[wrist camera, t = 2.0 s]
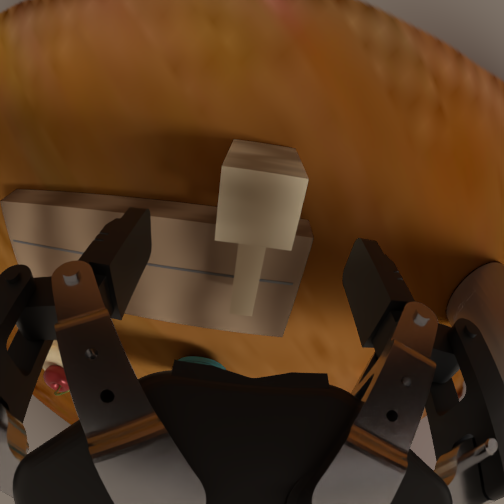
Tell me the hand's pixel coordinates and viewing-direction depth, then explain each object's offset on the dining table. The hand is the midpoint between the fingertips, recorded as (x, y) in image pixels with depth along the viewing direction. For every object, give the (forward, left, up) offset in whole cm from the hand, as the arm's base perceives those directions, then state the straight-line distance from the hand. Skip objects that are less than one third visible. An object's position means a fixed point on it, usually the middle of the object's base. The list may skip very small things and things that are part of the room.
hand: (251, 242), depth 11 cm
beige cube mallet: (0, +3, -9) cm, 10 cm away
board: (+9, +8, -9) cm, 15 cm away
